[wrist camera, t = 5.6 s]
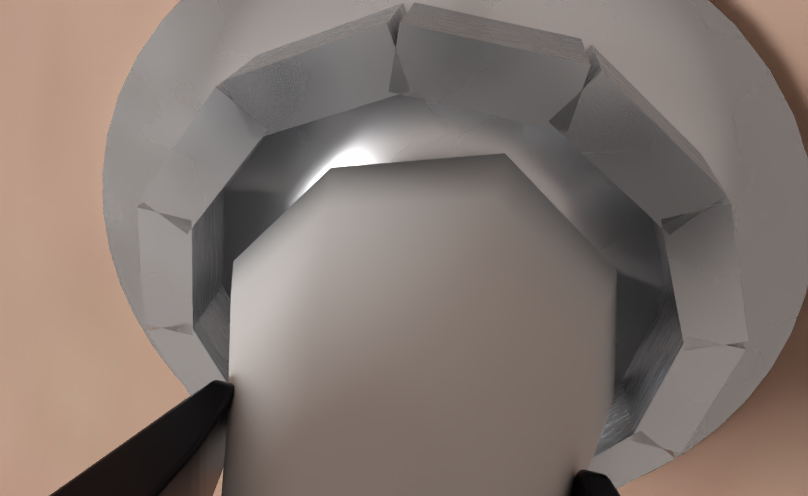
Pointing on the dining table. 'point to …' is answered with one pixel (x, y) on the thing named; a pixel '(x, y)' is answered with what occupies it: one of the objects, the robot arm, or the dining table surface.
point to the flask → (419, 338)
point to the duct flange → (471, 136)
